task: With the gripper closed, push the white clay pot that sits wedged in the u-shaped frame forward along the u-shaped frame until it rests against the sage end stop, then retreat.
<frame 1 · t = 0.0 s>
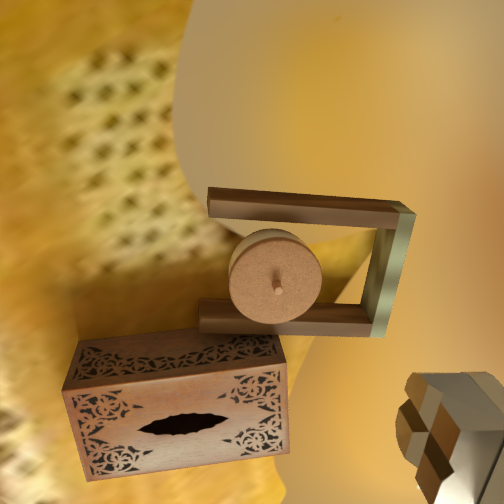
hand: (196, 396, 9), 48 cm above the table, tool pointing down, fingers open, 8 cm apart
lidded jar: (265, 255, 61), on the table
tissue box cover: (184, 371, 67), on the table
u-shaped frame: (288, 257, 62), on the table
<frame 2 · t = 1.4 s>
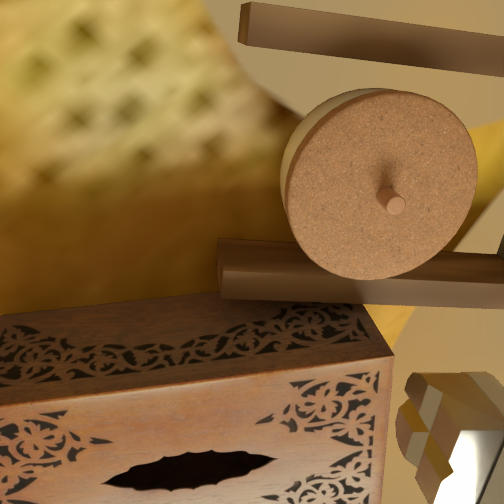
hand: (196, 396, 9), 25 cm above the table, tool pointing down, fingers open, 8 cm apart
lidded jar: (342, 157, 33), on the table
tissue box cover: (189, 367, 40), on the table
u-shaped frame: (384, 162, 33), on the table
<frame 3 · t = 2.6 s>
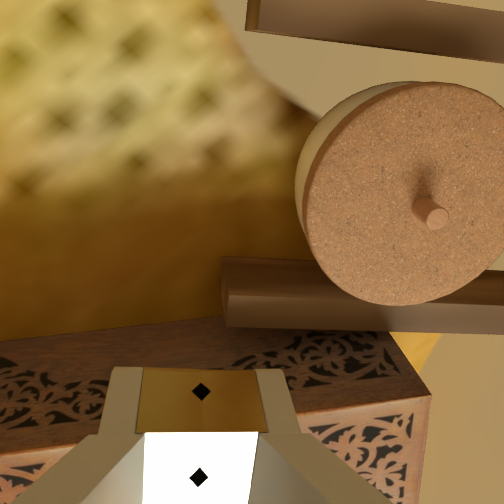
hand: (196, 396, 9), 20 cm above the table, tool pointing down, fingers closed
lidded jar: (362, 164, 29), on the table
tissue box cover: (189, 400, 35), on the table
u-shaped frame: (410, 169, 29), on the table
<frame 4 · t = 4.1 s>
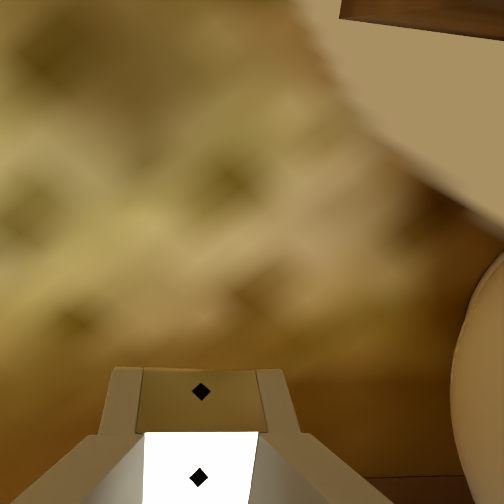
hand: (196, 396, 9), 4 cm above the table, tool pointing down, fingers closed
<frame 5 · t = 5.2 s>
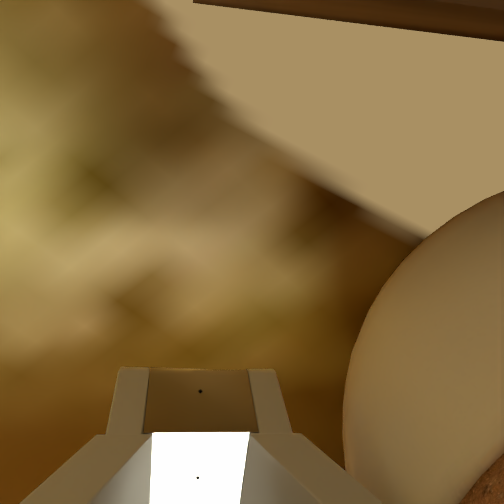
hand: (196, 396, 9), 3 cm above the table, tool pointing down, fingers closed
lidded jar: (482, 310, 13), on the table, touching gripper
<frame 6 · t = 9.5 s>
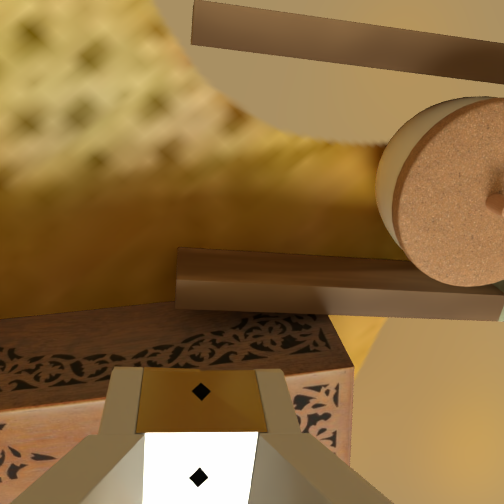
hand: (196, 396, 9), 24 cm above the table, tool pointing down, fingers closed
lidded jar: (426, 166, 33), on the table
tissue box cover: (152, 380, 38), on the table
u-shaped frame: (347, 168, 33), on the table
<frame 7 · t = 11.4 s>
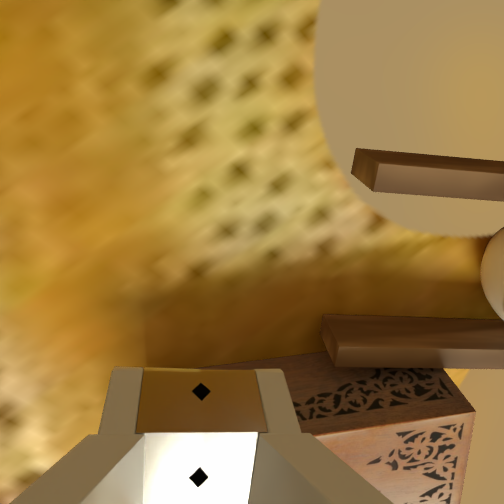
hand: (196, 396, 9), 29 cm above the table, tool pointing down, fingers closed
tissue box cover: (288, 412, 48), on the table
u-shaped frame: (455, 254, 42), on the table
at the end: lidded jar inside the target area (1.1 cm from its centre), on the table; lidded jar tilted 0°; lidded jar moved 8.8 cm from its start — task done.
